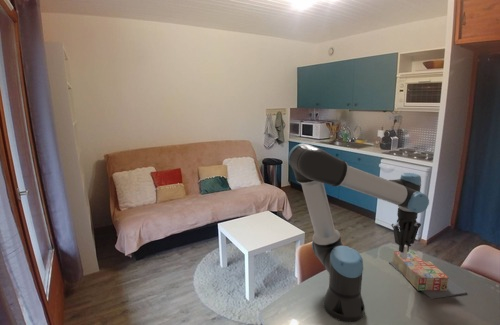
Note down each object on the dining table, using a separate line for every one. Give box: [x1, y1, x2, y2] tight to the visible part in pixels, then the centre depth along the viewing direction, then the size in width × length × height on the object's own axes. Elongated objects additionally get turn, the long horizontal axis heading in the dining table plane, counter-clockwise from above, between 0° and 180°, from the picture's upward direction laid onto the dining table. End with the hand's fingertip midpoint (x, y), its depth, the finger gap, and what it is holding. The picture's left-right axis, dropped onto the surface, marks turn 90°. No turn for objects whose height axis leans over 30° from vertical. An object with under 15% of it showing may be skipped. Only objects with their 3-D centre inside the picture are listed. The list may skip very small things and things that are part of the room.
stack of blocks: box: [392, 250, 450, 292], centre depth 124 cm, size 21×6×12 cm
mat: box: [388, 260, 468, 300], centre depth 124 cm, size 17×26×1 cm, turn 9°
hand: (402, 257), depth 122 cm, fingers closed
